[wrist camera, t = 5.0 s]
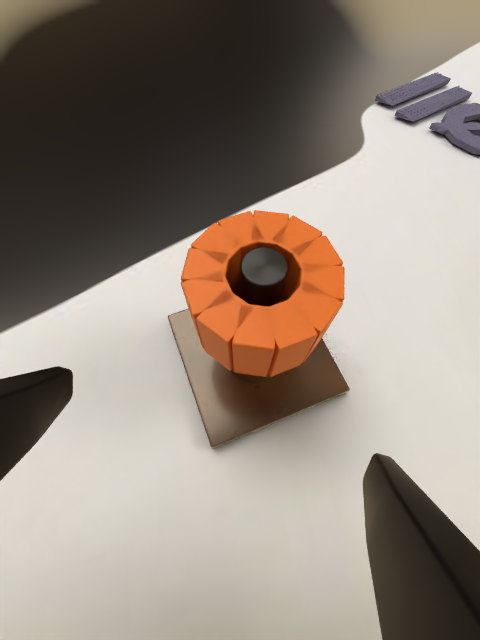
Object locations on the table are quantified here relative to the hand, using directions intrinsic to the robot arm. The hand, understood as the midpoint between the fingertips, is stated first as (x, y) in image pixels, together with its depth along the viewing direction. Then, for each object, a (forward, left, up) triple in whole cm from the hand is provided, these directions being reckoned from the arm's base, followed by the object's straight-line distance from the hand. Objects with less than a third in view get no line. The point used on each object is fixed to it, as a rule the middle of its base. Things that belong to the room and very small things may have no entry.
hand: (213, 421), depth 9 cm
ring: (+5, -4, -6) cm, 9 cm away
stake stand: (+5, -4, -13) cm, 15 cm away
